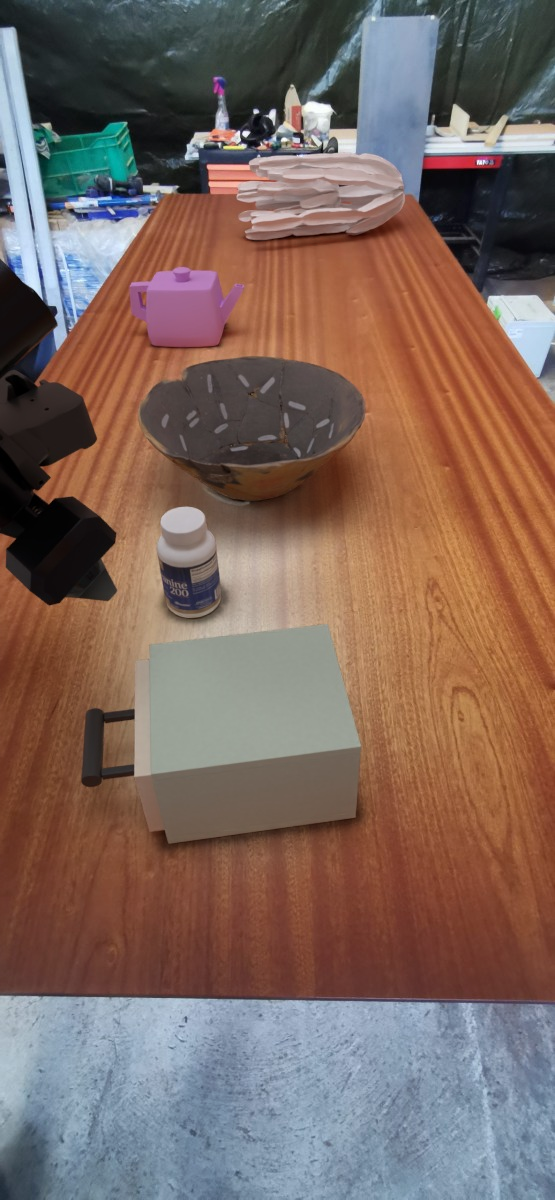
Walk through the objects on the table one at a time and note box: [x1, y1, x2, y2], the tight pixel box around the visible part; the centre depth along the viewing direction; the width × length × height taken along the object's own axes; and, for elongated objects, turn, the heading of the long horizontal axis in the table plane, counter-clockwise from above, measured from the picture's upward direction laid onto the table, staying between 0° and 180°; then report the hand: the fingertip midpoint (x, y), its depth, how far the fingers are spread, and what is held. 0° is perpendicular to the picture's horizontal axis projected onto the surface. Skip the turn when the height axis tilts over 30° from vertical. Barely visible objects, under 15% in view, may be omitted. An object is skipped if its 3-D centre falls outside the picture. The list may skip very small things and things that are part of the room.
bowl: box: [137, 355, 366, 502], centre depth 83 cm, size 25×25×10 cm
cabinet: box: [148, 623, 362, 845], centre depth 54 cm, size 14×12×9 cm
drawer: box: [80, 658, 165, 833], centre depth 54 cm, size 17×10×7 cm, turn 98°
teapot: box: [128, 266, 245, 348], centre depth 115 cm, size 18×10×10 cm, turn 86°
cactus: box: [235, 151, 406, 241], centre depth 151 cm, size 17×18×35 cm
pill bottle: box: [156, 506, 222, 619], centre depth 68 cm, size 5×5×10 cm
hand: (80, 568), depth 57 cm, fingers open, 9 cm apart
